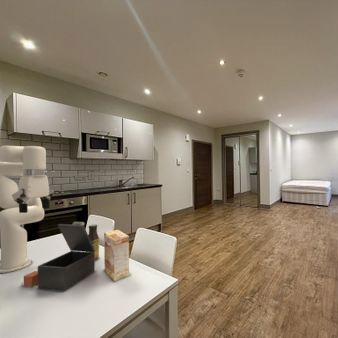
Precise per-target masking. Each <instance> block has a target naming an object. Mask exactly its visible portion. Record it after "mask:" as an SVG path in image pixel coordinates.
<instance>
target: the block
mask: <svg viewBox="0 0 338 338" xmlns="http://www.w3.org/2000/svg"><path fill="white" fill-rule="evenodd" d="M36 285H38V270H34V271H32V272H30V273H27V274H25V275H23V287H30V288H32V287H34V286H36Z"/></svg>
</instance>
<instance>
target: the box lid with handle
mask: <svg viewBox="0 0 338 338" xmlns="http://www.w3.org/2000/svg"><path fill="white" fill-rule="evenodd" d="M85 224H86V223H85V222H84V221H73V222H72V224H65V223H64V224H63V223H59V224H57V227H58V229H59V231H60V232H61V235H62V237H63V239H64V240H65V242H66V245H67V246H68V248H69V250H70V251H79V252H95V249H94V247H93V245H92V243H91V241H90V238H89V236H88V234H89V233H88V232H87V230H86V227H85Z"/></svg>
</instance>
